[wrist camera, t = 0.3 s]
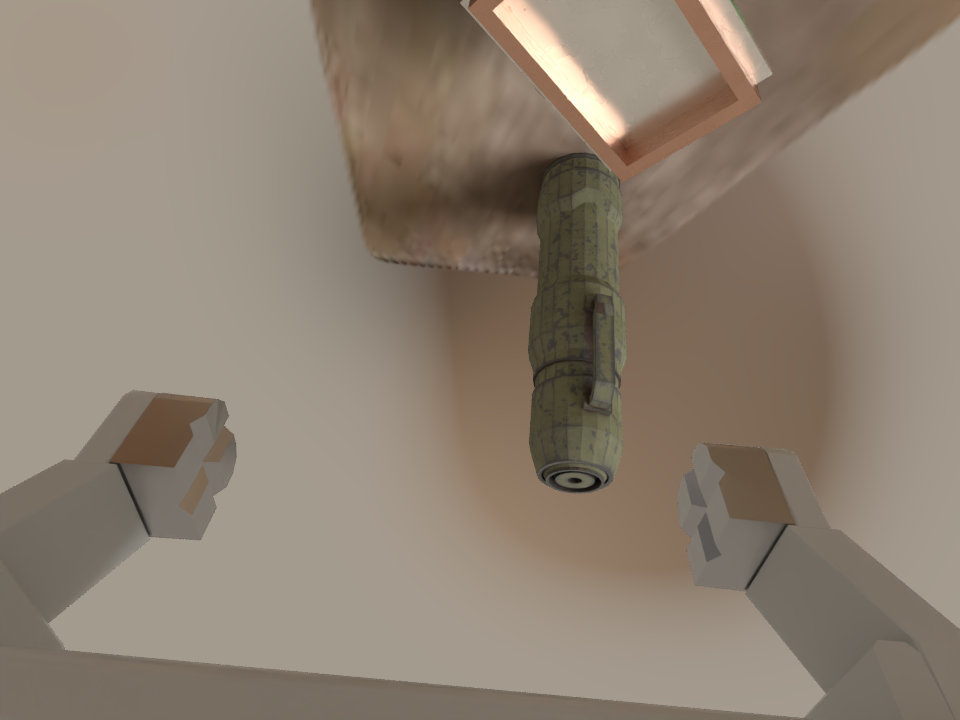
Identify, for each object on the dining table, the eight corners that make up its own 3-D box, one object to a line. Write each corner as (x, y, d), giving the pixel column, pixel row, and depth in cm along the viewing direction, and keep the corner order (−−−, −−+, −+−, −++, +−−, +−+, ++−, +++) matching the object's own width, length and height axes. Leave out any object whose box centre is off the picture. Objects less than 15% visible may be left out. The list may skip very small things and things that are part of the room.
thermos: (528, 217, 73) (504, 499, 53) (555, 133, 63) (538, 441, 44) (600, 231, 74) (603, 515, 54) (638, 150, 64) (658, 461, 44)
